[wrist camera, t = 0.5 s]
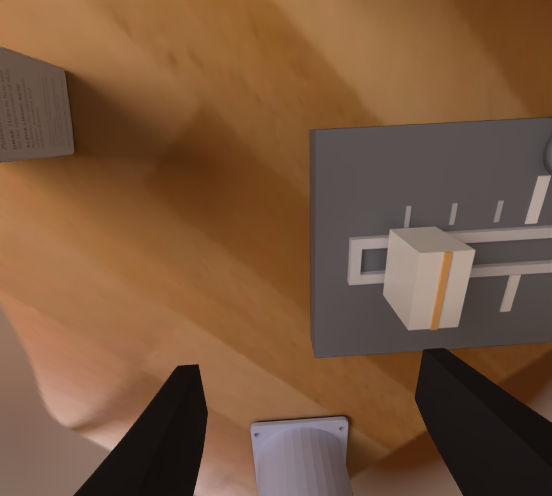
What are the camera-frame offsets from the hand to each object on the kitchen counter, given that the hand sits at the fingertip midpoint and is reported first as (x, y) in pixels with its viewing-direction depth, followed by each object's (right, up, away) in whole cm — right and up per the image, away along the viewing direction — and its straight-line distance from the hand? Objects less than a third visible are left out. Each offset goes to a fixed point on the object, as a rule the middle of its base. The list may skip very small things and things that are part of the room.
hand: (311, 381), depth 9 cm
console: (+9, +4, +10) cm, 14 cm away
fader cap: (+6, +4, +8) cm, 10 cm away
